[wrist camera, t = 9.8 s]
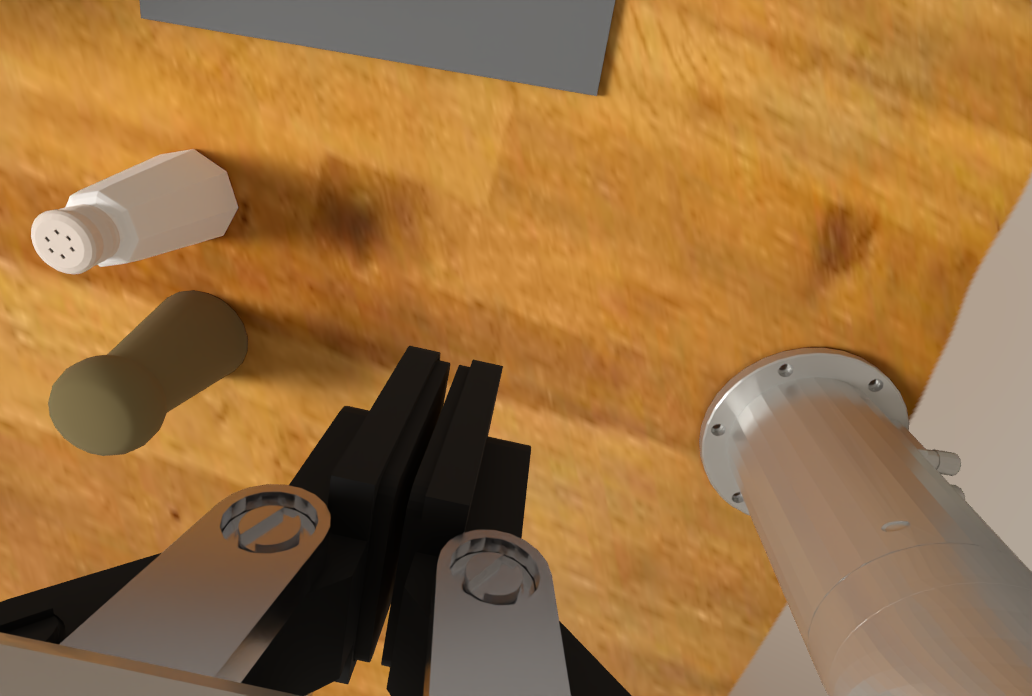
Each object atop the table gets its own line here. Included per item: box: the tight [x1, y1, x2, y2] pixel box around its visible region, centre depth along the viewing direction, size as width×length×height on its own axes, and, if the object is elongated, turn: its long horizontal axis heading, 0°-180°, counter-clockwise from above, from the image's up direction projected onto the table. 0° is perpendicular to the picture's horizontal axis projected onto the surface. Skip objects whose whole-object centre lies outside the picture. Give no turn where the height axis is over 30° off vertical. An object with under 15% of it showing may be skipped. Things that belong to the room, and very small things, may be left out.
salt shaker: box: [31, 149, 238, 274], centre depth 32 cm, size 5×5×11 cm
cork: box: [48, 290, 248, 456], centre depth 36 cm, size 6×6×11 cm
